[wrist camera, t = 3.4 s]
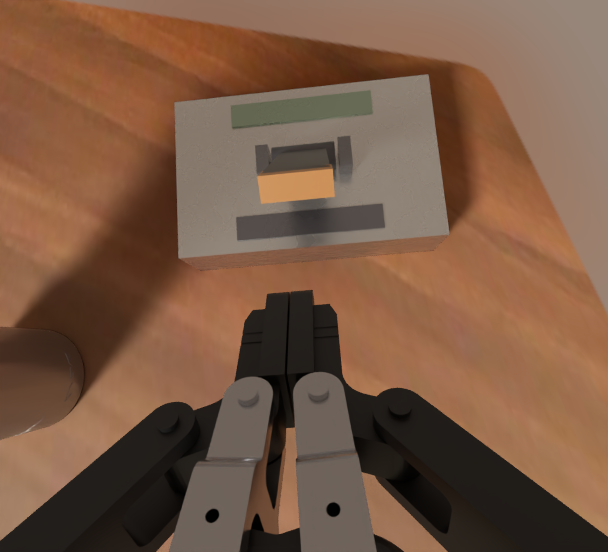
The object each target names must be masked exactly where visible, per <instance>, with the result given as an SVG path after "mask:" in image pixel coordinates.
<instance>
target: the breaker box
mask: <svg viewBox="0 0 608 552" xmlns="http://www.w3.org/2000/svg"><path fill="white" fill-rule="evenodd" d="M175 139H176V178H177V217H178V256H179V259H181V260H182V261H184V262H186V263H188V264H190V265H191V266H193V267H195V268H197V269H198V270H200V271H205V270H217V269H228V268H240V267H251V266H263V265H275V264H286V263H298V262H309V261H321V260H333V259H344V258H356V257H368V256H379V255H391V254H402V253H414V252H426V251H433V250H434V249H435V248H436V247H438V246H439V245H440V244H441V243H442V242H443V241H444V240H445V239H446V238H447V237H448V236H449V235H450V234H449V226H448V219H447V211H446V204H445V196H444V188H443V181H442V173H441V166H440V158H439V150H438V143H437V135H436V128H435V120H434V113H433V105H432V97H431V90H430V82H429V75H428V74H427V75H418V76H409V77H400V78H391V79H381V80H372V81H363V82H354V83H345V84H336V85H327V86H318V87H309V88H300V89H291V90H282V91H273V92H264V93H255V94H246V95H237V96H228V97H219V98H210V99H201V100H192V101H183V102H175ZM330 141H334V145H335V156H336V169H335V170H333V179H334V192H335V197H328V198H317V199H307V200H296V201H286V202H275V203H265V204H261V200H260V193H259V186H258V178H257V176H258V175H259V174H260V173H261V172H262V171H264V170H265V169H266V168H267V167H268V166H269V165H270V163H271V162H272V159H271V148H272V147H282V146H291V145H301V144H311V143H321V142H330Z"/></svg>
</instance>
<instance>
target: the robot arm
mask: <svg viewBox="0 0 608 552" xmlns="http://www.w3.org/2000/svg"><path fill="white" fill-rule="evenodd" d="M83 381H84V367H83V362H82V359H81V356H80V354H79V352H78V350H77V348H76V347H75V345H74V344H73V343H72V342H71V341H70V340H69V339H68V338H66V337H65V336H63V335H62V334H60V333H57V332H55V331H51V330H44V329H28V328H14V327H0V440H2V439H5V438H9V437H13V436H17V435H20V434H24V433H27V432H31V431H34V430H38V429H41V428H45V427H48V426H51V425H53V424H55V423H57V422H58V421H60V420H61V419H62V418H64V417H65V416H66V415H67V414H68V413H69V412H70V411H71V410H72V408H73V407H74V406H75V404H76V402H77V400H78V398H79V397H80V394H81V391H82V387H83ZM293 427H295V430H296V445H297V459H296V475H297V491H298V507H299V523H300V528H297V529H294V530H291V531H288V532H285V533H282V534H279V526H278V516H279V506H280V497H281V489H282V481H283V472H284V464H285V455H286V449H285V442H286V428H293ZM361 472H364V473H368V474H371V475H375V477H376V479H377V480H378V482H379V483H380V484H381V485H382V486H383V487H384V488H385V489H386V490H387V491H388V492H389V493H390V494H391V495H392V496H393V497H394V498H395V499H396V500H397V501H398V502H399V503H400V504H401V505H402V506H403V507H404V508H405V509H406V510H407V511H408V512H409V513H410V514H411V515H412V516H413V517H414V518H415V519H416V520H417V521H418V522H419V523H420V524H421V525H422V526H423V527H424V528H425V529H426V530H427V531H428V532H429V533H430V534H431V535H432V536H433V537H434V538H435V539H436V540H437V541H438V542H439V543H440V544H441V545H442V546H443V547H444V548H445V549H446V550H447V551H448V552H608V537H607V536H606V535H605V534H603V533H602V532H601V531H599V530H598V529H597V528H595V527H594V526H593V525H591V524H590V523H589V522H587V521H586V520H585V519H583V518H582V517H581V516H579V515H578V514H577V513H575V512H574V511H573V510H571V509H570V508H569V507H567V506H566V505H565V504H563V503H562V502H561V501H559V500H558V499H557V498H555V497H554V496H553V495H551V494H550V493H549V492H547V491H546V490H545V489H543V488H542V487H541V486H539V485H538V484H537V483H535V482H534V481H533V480H531V479H530V478H529V477H527V476H526V475H525V474H523V473H522V472H521V471H519V470H518V469H517V468H515V467H514V466H513V465H511V464H510V463H509V462H507V461H506V460H505V459H503V458H502V457H501V456H499V455H498V454H497V453H495V452H494V451H493V450H491V449H490V448H489V447H487V446H486V445H485V444H483V443H482V442H481V441H479V440H478V439H477V438H475V437H474V436H473V435H471V434H470V433H469V432H467V431H466V430H465V429H463V428H462V427H461V426H459V425H458V424H457V423H455V422H454V421H453V420H451V419H450V418H449V417H447V416H446V415H445V414H443V413H442V412H441V411H439V410H438V409H437V408H435V407H434V406H433V405H431V404H430V403H428V402H427V401H426V400H424V399H423V398H422V397H420V396H419V395H418V394H416V393H415V392H413V391H411V390H408V389H403V388H391V389H388V390H385V391H383V392H382V393H380V394H379V395H378V396H377V397H376V396H372V395H367V394H363V393H360V392H358V391H356V390H354V389H352V388H351V387H350V386H349V385H348V384H347V383H346V382H345V380H344V378H343V375H342V366H341V355H340V345H339V334H338V323H337V314H336V312H335V311H334V310H333V308H332V307H331V306H330V304H324V305H314V297H313V290H306V291H294V292H291V293H289V292H283V293H271V294H267V299H266V308H265V309H262V310H253V311H252V312H251V313H250V315H249V316H248V318H247V319H246V320H245V323H244V329H243V336H242V341H241V347H240V353H239V359H238V365H237V371H236V377H235V382H234V383H233V384H232V385H230V386H229V387H228V389H227V390H226V392H225V394H224V396H223V398H222V399H221V400H219V401H217V402H216V403H213V404H211V405H208V406H205V407H203V408H200V409H197V410H194V411H193V409H192V408H191V407H190V406H189V405H188V404H186V403H182V402H171V403H167V404H164V405H162V406H160V407H158V408H157V409H155V410H154V411H153V412H152V413H151V414H149V415H148V416H147V417H146V418H145V419H143V420H142V421H141V422H140V423H139V424H138V425H136V426H135V427H134V428H133V429H132V430H130V431H129V432H128V433H127V434H126V435H125V436H123V437H122V438H121V439H120V440H119V441H117V442H116V443H115V444H114V445H113V446H112V447H110V448H109V449H108V450H107V451H106V452H105V453H103V454H102V455H101V456H100V457H99V458H97V459H96V460H95V461H94V462H93V463H92V464H90V465H89V466H88V467H87V468H86V469H84V470H83V471H82V472H81V473H80V474H79V475H77V476H76V477H75V478H74V479H73V480H71V481H70V482H69V483H68V484H67V485H66V486H64V487H63V488H62V489H61V490H60V491H59V492H57V493H56V494H55V495H54V496H53V497H51V498H50V499H49V500H48V501H47V502H46V503H44V504H43V505H42V506H41V507H40V508H38V509H37V510H36V511H35V512H34V513H33V514H31V515H30V516H29V517H28V518H27V519H26V520H24V521H23V522H22V523H21V524H20V525H18V526H17V527H16V528H15V529H14V530H13V531H11V532H10V533H9V534H8V535H7V536H5V537H4V538H3V539H2V540H1V541H0V552H156V551H157V550H158V549H159V548H160V547H161V546H162V545H163V544H164V542H165V541H166V540H167V539H168V538H169V537H170V536H171V535H172V534H173V533H174V536H173V539H172V542H171V546H170V549H169V552H404V551H402V550H401V549H400V548H399V547H397V546H396V545H394V544H393V543H392V542H390V541H388V540H386V539H384V538H382V537H380V536H377V535H375V534H373V530H372V525H371V519H370V514H369V509H368V504H367V499H366V493H365V488H364V483H363V478H362V473H361Z"/></svg>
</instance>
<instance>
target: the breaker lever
mask: <svg viewBox="0 0 608 552" xmlns="http://www.w3.org/2000/svg"><path fill="white" fill-rule="evenodd" d="M271 159H272V162H271V163H270V165H269V166H268V167H267V168H266V169H265V170H264V171H262V172H261V173H260V174H259V175H258V176H257V178H258V186H259V193H260V200H261V204H265V203H275V202H286V201H296V200H307V199H317V198H328V197H335V192H334V179H333V170H335V169H336V156H335V145H334V141H330V142H321V143H311V144H301V145H291V146H282V147H272V148H271Z"/></svg>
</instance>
